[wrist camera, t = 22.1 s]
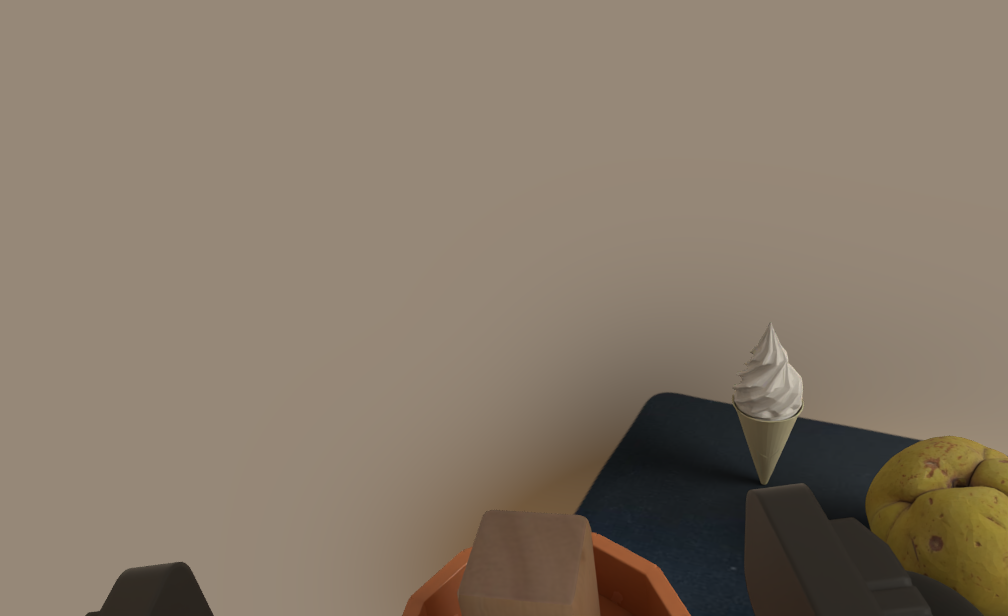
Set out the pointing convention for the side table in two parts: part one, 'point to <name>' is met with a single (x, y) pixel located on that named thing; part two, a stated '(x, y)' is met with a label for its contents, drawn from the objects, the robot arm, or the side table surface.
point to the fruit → (947, 516)
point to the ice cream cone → (768, 402)
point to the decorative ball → (942, 597)
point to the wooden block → (530, 567)
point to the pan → (619, 573)
